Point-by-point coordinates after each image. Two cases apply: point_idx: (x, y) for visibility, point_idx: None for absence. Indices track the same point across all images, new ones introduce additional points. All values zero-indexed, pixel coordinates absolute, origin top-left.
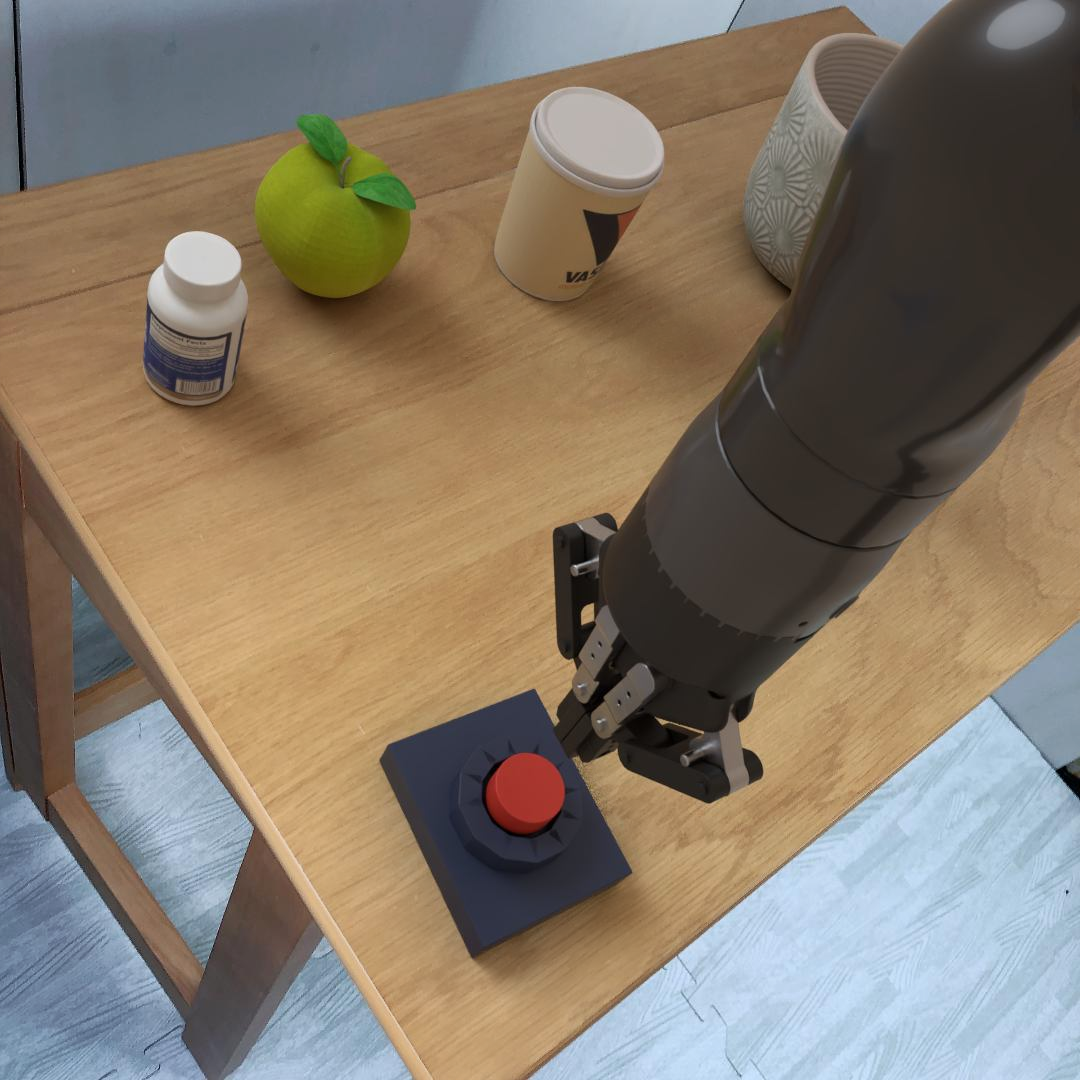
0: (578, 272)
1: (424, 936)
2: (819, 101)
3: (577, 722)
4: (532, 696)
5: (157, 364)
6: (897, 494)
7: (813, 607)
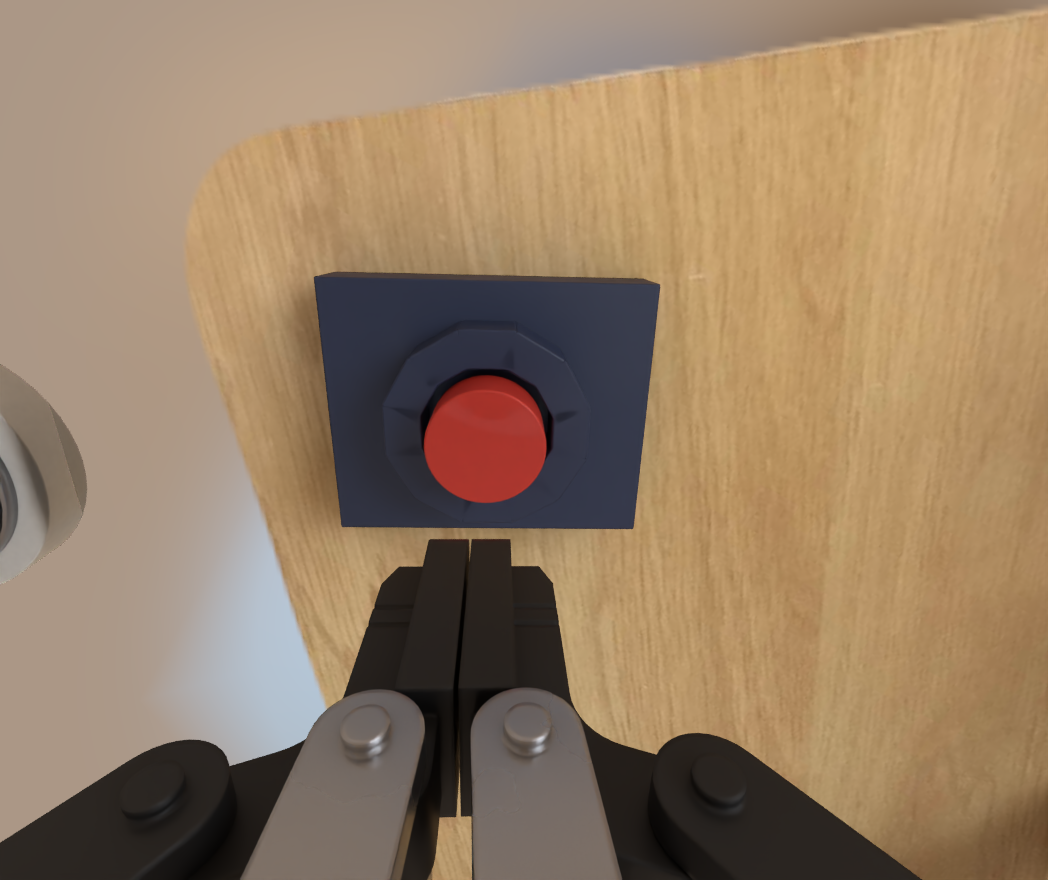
0: None
1: (386, 222)
2: None
3: (464, 627)
4: (624, 520)
5: None
6: None
7: None
